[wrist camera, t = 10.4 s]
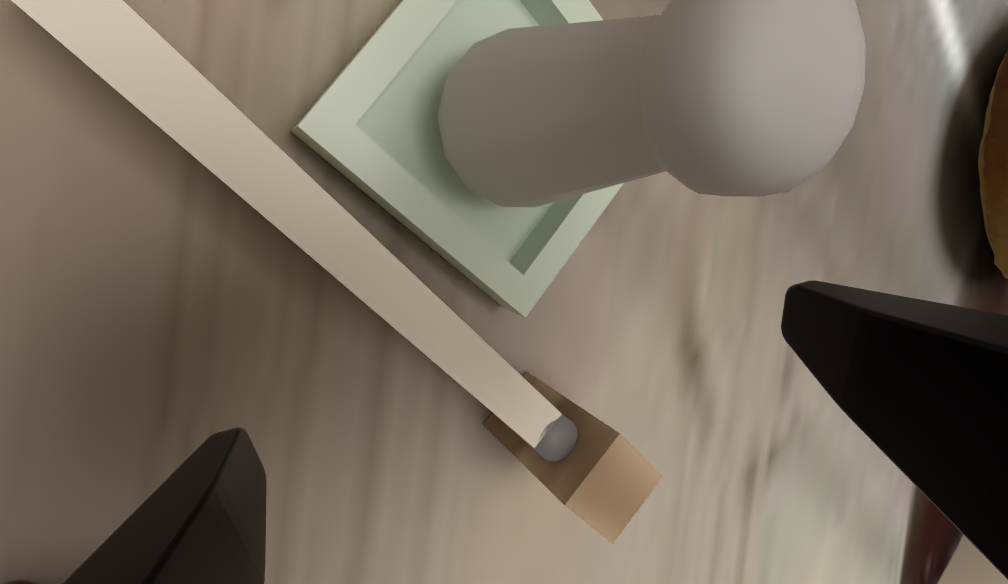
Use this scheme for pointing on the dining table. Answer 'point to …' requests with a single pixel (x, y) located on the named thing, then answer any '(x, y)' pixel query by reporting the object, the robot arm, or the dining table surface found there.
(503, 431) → the gate post
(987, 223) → the brown ceramic vase
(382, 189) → the tray
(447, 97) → the salt shaker
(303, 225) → the gate
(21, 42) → the dining table surface
